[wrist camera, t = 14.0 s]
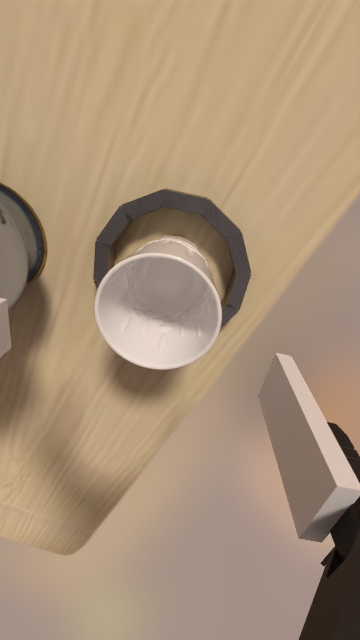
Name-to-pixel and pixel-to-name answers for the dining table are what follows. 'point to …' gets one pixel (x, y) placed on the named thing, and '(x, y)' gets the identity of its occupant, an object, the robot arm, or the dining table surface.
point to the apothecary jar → (19, 245)
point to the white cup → (160, 305)
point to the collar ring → (189, 204)
